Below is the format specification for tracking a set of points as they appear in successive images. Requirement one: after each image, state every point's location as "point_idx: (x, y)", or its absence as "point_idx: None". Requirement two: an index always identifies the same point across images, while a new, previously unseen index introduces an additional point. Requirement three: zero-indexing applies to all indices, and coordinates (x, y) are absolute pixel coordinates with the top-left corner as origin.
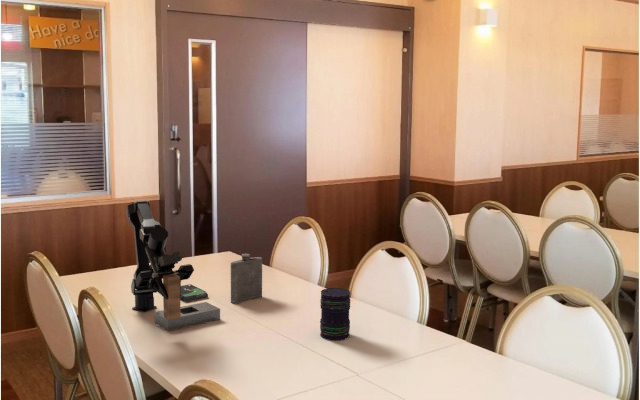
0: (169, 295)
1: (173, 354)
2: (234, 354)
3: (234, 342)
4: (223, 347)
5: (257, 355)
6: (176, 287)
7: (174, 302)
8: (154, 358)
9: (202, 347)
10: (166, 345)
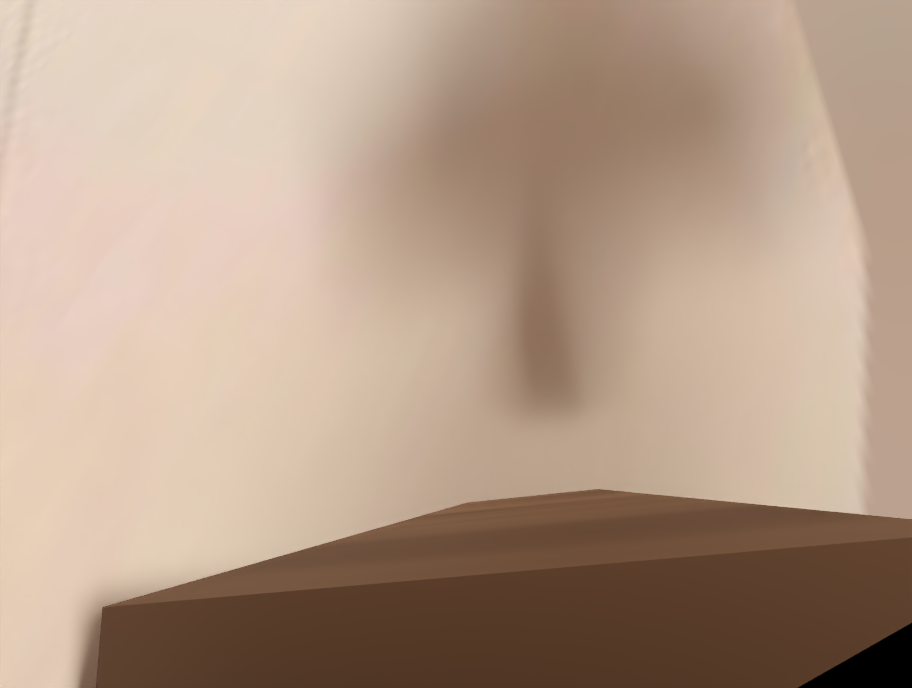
0: (647, 498)
1: (640, 206)
2: (334, 79)
3: (244, 231)
4: (333, 188)
5: (250, 30)
6: (460, 526)
7: (534, 501)
8: (775, 194)
9: (437, 238)
10: (638, 378)
